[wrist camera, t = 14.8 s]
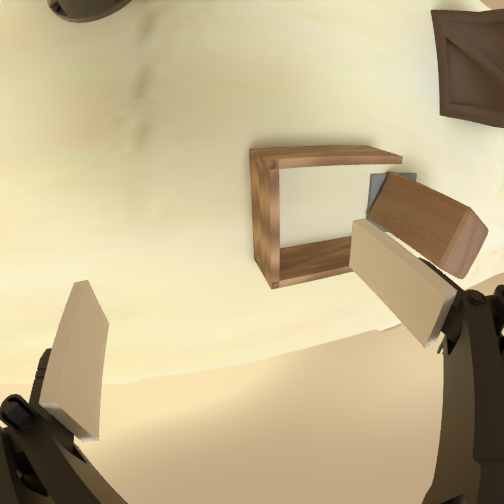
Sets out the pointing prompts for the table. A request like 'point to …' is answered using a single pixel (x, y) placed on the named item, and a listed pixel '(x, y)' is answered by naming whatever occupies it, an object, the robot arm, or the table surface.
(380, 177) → the pad
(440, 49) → the wooden crate
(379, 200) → the block
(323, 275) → the cubby
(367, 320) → the table surface
